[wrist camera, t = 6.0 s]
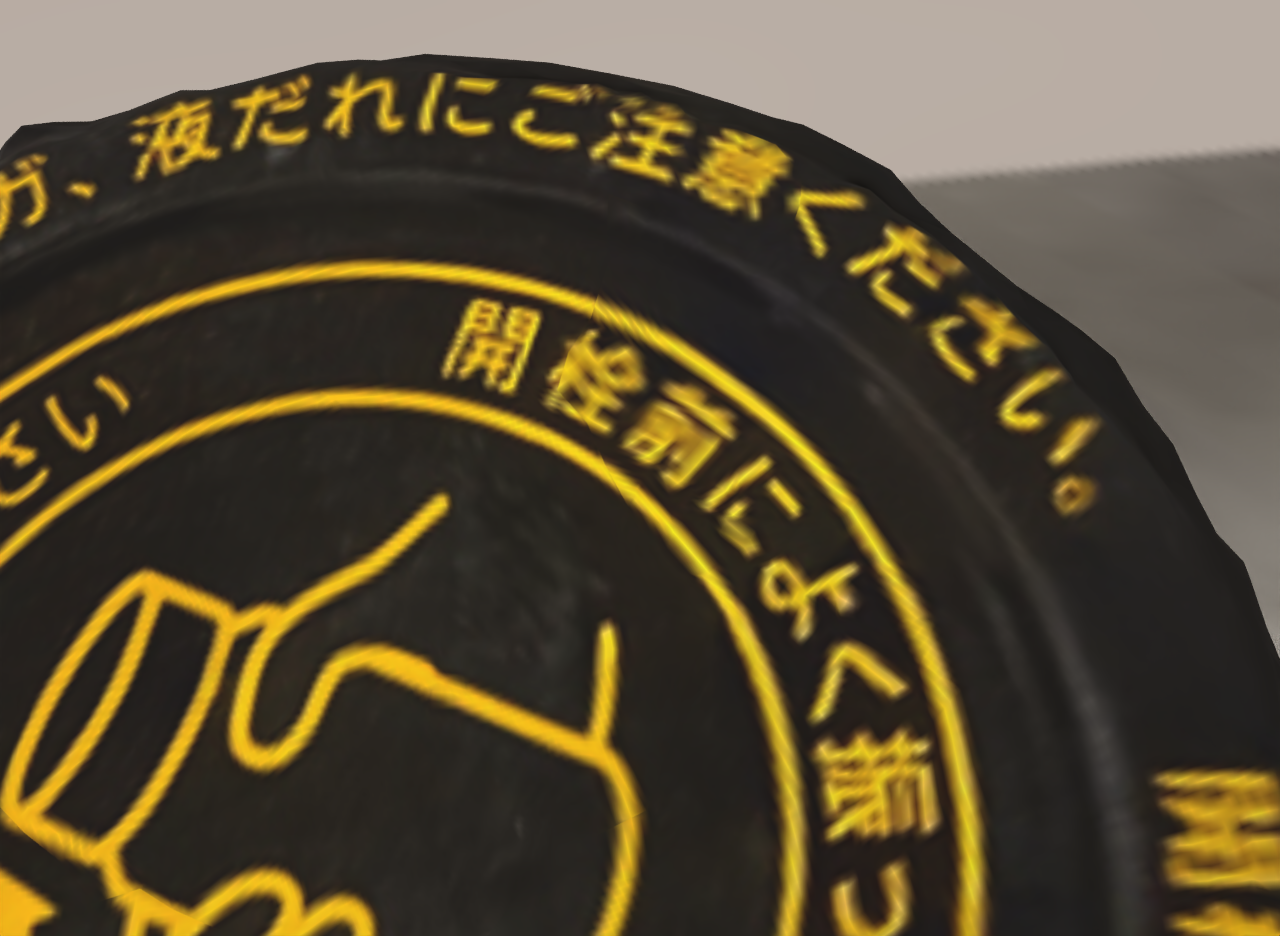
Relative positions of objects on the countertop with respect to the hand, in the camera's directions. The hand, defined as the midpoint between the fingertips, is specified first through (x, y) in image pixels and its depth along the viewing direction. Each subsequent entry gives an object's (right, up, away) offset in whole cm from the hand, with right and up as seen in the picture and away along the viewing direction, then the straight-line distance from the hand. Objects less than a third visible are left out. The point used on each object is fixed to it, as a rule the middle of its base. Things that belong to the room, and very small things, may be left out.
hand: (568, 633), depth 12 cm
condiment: (+1, -5, +2) cm, 5 cm away
